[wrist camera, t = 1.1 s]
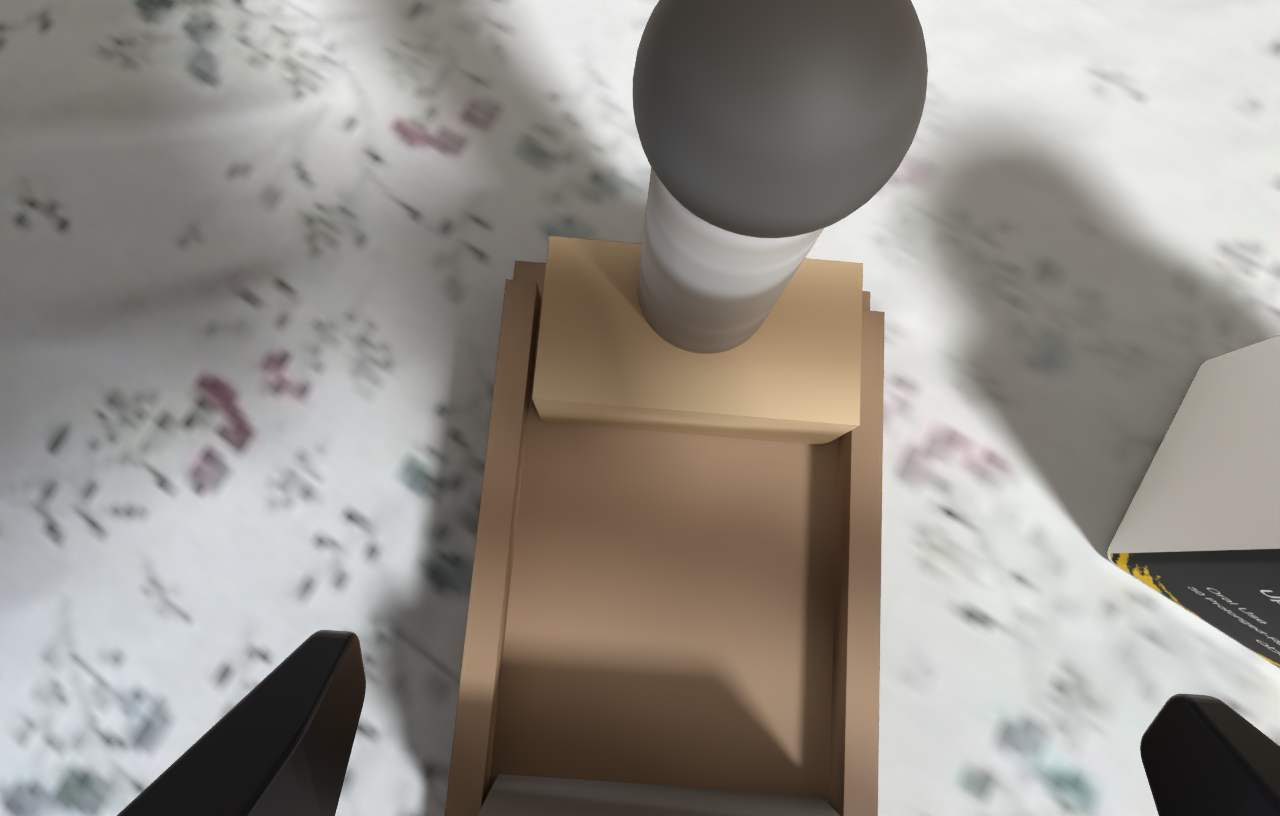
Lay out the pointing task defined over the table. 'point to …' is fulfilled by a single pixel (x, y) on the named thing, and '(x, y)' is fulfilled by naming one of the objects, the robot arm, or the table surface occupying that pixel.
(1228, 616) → the medicine bottle
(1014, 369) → the table surface
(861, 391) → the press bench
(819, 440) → the press handle
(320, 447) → the table surface
